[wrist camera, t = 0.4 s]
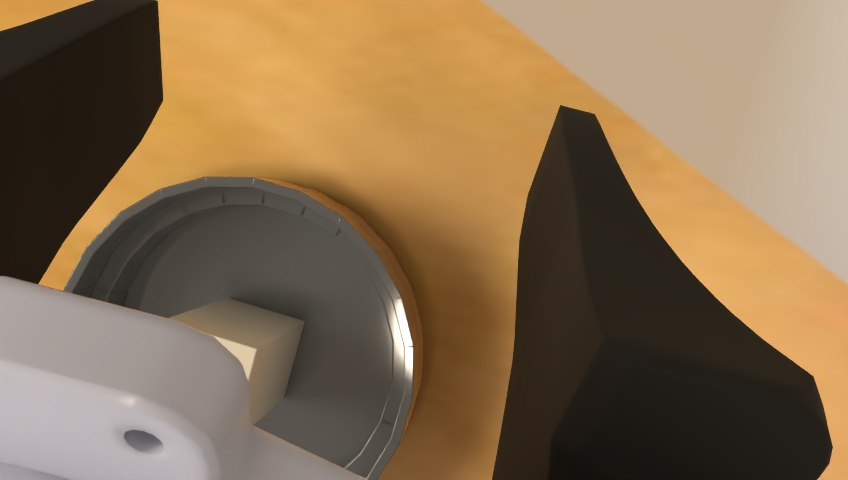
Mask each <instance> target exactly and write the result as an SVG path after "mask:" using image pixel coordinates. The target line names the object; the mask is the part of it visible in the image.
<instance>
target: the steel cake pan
mask: <svg viewBox="0 0 848 480" xmlns="http://www.w3.org/2000/svg"><path fill="white" fill-rule="evenodd" d="M63 291H65V292H69V293H73V294H77V295H80V296H84V297H88V298H92V299H96V300H100V301H103V302H107V303H111V304H115V305H119V306H123V307H126V308H130V309H134V310H138V311H142V312H146V313H149V314H153V315H157V316H161V317H165V318H170V317H173V316H176V315H179V314H182V313H185V312H188V311H191V310H194V309H197V308H199V307H202V306H205V305H208V304H211V303H214V302H217V301H220V300H223V299H226V298H230V299H234V300H237V301H240V302H244V303H247V304H250V305H253V306H257V307H260V308H263V309H267V310H270V311H273V312H276V313H280V314H283V315H286V316H290V317H293V318H296V319H299V320H303V321H304V322H305V323H304V326H303V330H302V334H301V337H300V341H299V345H298V348H297V352H296V355H295V359H294V363H293V366H292V370H291V374H290V377H289V381H288V385H287V388H286V392H285V396H284V399H283V400H282V401H280V402H279V403H278V404H277V405H276V406H275V407H274V408H273V409H271V410H270V411H269V412H268V413H267V414H266V415H265V416H263V417H262V418H261V419H260V420H259V421H258V422H257V423H255V424H254V426H256V427H258V428H260V429H262V430H264V431H266V432H268V433H270V434H273V435H275V436H277V437H279V438H281V439H283V440H285V441H287V442H289V443H292V444H294V445H296V446H298V447H300V448H302V449H304V450H306V451H308V452H310V453H313V454H315V455H317V456H319V457H321V458H323V459H325V460H327V461H329V462H332V463H334V464H336V465H338V466H340V467H342V468H344V469H346V470H348V471H351V472H353V473H355V474H357V475H359V476H361V477H363V478H365V479H367V480H378V478H379V477H380V475H381V473H382V472H383V470H384V468H385V467H386V465H387V464H388V462H389V460H390V459H391V457H392V455H393V454H394V452H395V450H396V449H397V447H398V446H399V444H400V442H401V439H402V437H403V435H404V433H405V430H406V428H407V426H408V424H409V421H410V419H411V416H412V412H413V409H414V405H415V402H416V398H417V395H418V391H419V388H420V385H421V381H422V376H423V329H422V325H421V321H420V317H419V313H418V309H417V305H416V301H415V297H414V293H413V289H412V287H411V285H410V283H409V281H408V279H407V278H406V276H405V274H404V272H403V270H402V268H401V267H400V265H399V263H398V261H397V259H396V258H395V256H394V254H393V252H392V250H391V249H390V247H389V246H388V245H387V244H386V243H385V242H384V241H383V240H382V239H381V238H380V237H379V236H378V235H377V234H376V233H375V232H374V231H373V229H372V228H371V227H370V226H369V225H368V224H367V223H366V222H365V221H364V220H363V219H362V218H361V217H360V216H358V215H357V214H356V213H354V212H353V211H351V210H349V209H348V208H346V207H344V206H343V205H341V204H339V203H338V202H336V201H334V200H333V199H331V198H329V197H328V196H326V195H324V194H323V193H320V192H319V191H315V190H312V189H308V188H305V187H301V186H298V185H295V184H291V183H288V182H284V181H281V180H274V179H265V178H255V177H202V178H199V179H195V180H191V181H187V182H183V183H180V184H176V185H172V186H168V187H165V188H161V189H159V190H157V191H155V192H153V193H152V194H150V195H148V196H147V197H145V198H143V199H142V200H140V201H138V202H137V203H135V204H133V205H131V206H130V207H128V208H126V209H125V210H123V211H121V212H120V213H119V214H118V215H117V216H116V217H115V218H114V219H113V220H112V221H111V222H110V223H109V224H108V225H107V226H106V227H105V228H104V229H103V230H102V231H101V232H100V233H99V234H98V235H97V236H96V237H95V238H94V239H93V240H92V241H91V242H90V244H89V245H88V246H87V247H86V249H85V250H84V252H83V254H82V256H81V258H80V259H79V261H78V263H77V265H76V267H75V269H74V270H73V272H72V274H71V276H70V278H69V279H68V281H67V283H66V285H65V287H64V290H63Z"/></svg>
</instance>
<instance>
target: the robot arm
mask: <svg viewBox="0 0 848 480" xmlns="http://www.w3.org/2000/svg"><path fill="white" fill-rule="evenodd" d="M162 101H163V87H162V69H161V51H160V33H159V16H158V1H156V0H94V1H91V2H88V3H85V4H82V5H79V6H76V7H73V8H70V9H67V10H64V11H61V12H58V13H55V14H53V15H50V16H47V17H44V18H41V19H38V20H35V21H32V22H29V23H26V24H23V25H20V26H17V27H13V28H10V29H7V30H3V31H0V480H367V479H365V478H363V477H361V476H359V475H357V474H355V473H353V472H351V471H348V470H346V469H344V468H342V467H340V466H338V465H336V464H334V463H332V462H329V461H327V460H325V459H323V458H321V457H319V456H317V455H315V454H313V453H310V452H308V451H306V450H304V449H302V448H300V447H298V446H296V445H294V444H292V443H289V442H287V441H285V440H283V439H281V438H279V437H277V436H275V435H273V434H270V433H268V432H266V431H264V430H262V429H260V428H258V427H256V426H254V425H252V424H251V418H250V403H251V388H250V385H249V382H248V379H247V377H246V374H245V371H244V368H243V365H242V363H241V362H240V361H239V359H238V358H237V357H236V356H234V355H233V354H232V353H231V352H230V351H229V350H228V349H227V348H226V347H225V346H223V345H222V344H221V343H220V342H219V341H218V340H217V339H216V338H215V337H213V336H211V335H209V334H207V333H205V332H202V331H200V330H198V329H195V328H193V327H191V326H188V325H186V324H184V323H182V322H179V321H176V320H172V319H169V318H165V317H161V316H157V315H153V314H149V313H146V312H142V311H138V310H134V309H130V308H126V307H123V306H119V305H115V304H111V303H107V302H103V301H100V300H96V299H92V298H88V297H84V296H80V295H77V294H73V293H69V292H65V291H61V290H57V289H54V288H50V287H46V286H42V285H38V284H39V282H40V280H41V279H42V277H43V275H44V274H45V272H46V270H47V269H48V267H49V265H50V264H51V262H52V260H53V259H54V257H55V255H56V254H57V252H58V250H59V249H60V247H61V245H62V244H63V242H64V241H65V239H66V238H67V237H68V235H69V234H70V232H71V231H72V230H73V228H74V227H75V225H76V224H77V223H78V221H79V220H80V219H81V218H82V216H83V215H84V214H85V213H86V211H87V210H88V209H89V208H90V206H91V205H92V204H93V202H94V201H95V200H96V199H97V197H98V196H99V195H100V194H101V192H102V191H103V190H104V189H105V187H106V186H107V185H108V183H109V182H110V181H111V180H112V178H113V177H114V176H115V175H116V173H117V172H118V171H119V169H120V168H121V167H122V166H123V164H124V163H125V162H126V160H127V159H128V158H129V156H130V155H131V154H132V153H133V151H134V150H135V149H136V147H137V146H138V145H139V143H140V142H141V140H142V138H143V137H144V135H145V133H146V131H147V130H148V128H149V126H150V124H151V123H152V121H153V119H154V117H155V115H156V113H157V111H158V109H159V107H160V105H161V103H162ZM832 448H833V446H832V442H831V438H830V434H829V430H828V426H827V420H826V416H825V412H824V408H823V404H822V401H821V398H820V395H819V392H818V389H817V386H816V383H815V380H814V377H813V376H812V375H811V374H809V373H808V372H807V371H805V370H804V369H802V368H801V367H800V366H798V365H797V364H796V363H794V362H793V361H792V360H790V359H789V358H787V357H786V356H785V355H783V354H782V353H781V352H779V351H778V350H776V349H775V348H774V347H772V346H771V345H770V344H768V343H767V342H766V341H764V340H763V339H762V338H761V337H759V336H758V335H757V334H756V333H755V332H753V331H752V330H751V329H750V328H749V327H748V326H746V325H745V324H744V323H743V322H742V321H741V320H739V319H738V318H737V317H736V316H735V315H734V314H732V313H731V312H730V311H729V310H728V309H727V308H726V307H725V306H724V305H723V304H722V303H721V302H720V301H719V300H718V299H716V298H715V297H714V295H713V294H712V293H711V292H710V291H709V290H708V289H707V288H706V287H705V286H704V285H703V284H702V283H701V282H700V281H699V280H698V279H697V278H696V277H695V276H694V275H693V274H692V272H691V271H690V270H689V269H688V268H687V267H686V266H685V265H684V263H683V262H682V261H681V260H680V259H679V257H678V256H677V255H676V254H675V252H674V251H673V250H672V249H671V247H670V246H669V245H668V243H667V242H666V241H665V240H664V238H663V237H662V236H661V234H660V233H659V232H658V230H657V229H656V227H655V226H654V225H653V223H652V222H651V220H650V218H649V217H648V215H647V214H646V212H645V211H644V209H643V208H642V206H641V204H640V203H639V201H638V200H637V198H636V196H635V195H634V193H633V191H632V189H631V187H630V185H629V184H628V182H627V180H626V178H625V176H624V174H623V172H622V170H621V168H620V166H619V164H618V162H617V160H616V158H615V156H614V154H613V152H612V150H611V148H610V146H609V143H608V141H607V139H606V137H605V135H604V132H603V130H602V128H601V126H600V124H599V122H598V120H597V118H596V116H595V114H592V113H588V112H584V111H581V110H577V109H573V108H569V107H565V106H561V105H560V108H559V111H558V113H557V116H556V119H555V122H554V124H553V127H552V130H551V133H550V135H549V138H548V141H547V144H546V146H545V149H544V152H543V155H542V157H541V160H540V163H539V166H538V168H537V171H536V174H535V177H534V180H533V182H532V185H531V188H530V191H529V193H528V197H527V203H526V208H525V213H524V218H523V224H522V230H521V235H520V242H519V259H518V279H517V300H516V321H515V341H514V351H513V361H512V368H511V374H510V380H509V386H508V392H507V398H506V405H505V410H504V416H503V422H502V428H501V433H500V439H499V445H498V451H497V456H496V462H495V467H494V472H493V478H492V480H817V479H818V478H819V477H820V475H821V474H822V473H823V471H824V470H825V469H826V467H827V466H828V465H829V462H830V458H831V453H832Z"/></svg>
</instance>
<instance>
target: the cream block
mask: <svg viewBox="0 0 848 480" xmlns="http://www.w3.org/2000/svg"><path fill="white" fill-rule="evenodd" d="M169 319H172V320H176V321H179V322H182V323H184V324H186V325H188V326H191V327H193V328H195V329H198V330H200V331H202V332H205V333H207V334H209V335H211V336H213V337H215V338H216V339H217V340H218V341H219V342H220V343H221V344H222V345H223V346H225V347H226V348H227V349H228V350H229V351H230V352H231V353H232V354H233V355H234V356H236V357H237V358H238V359H239V361H240V362H241V363H242V365H243V368H244V371H245V374H246V377H247V379H248V382H249V385H250V388H251V403H250V418H251V424H252V425H254V424H255V423H257V422H258V421H259V420H260V419H261V418H262V417H263V416H265V415H266V414H267V413H268V412H269V411H270V410H271V409H273V408H274V407H275V406H276V405H277V404H278V403H279V402H280V401H282V400H283V399H284V396H285V392H286V388H287V385H288V381H289V377H290V374H291V370H292V366H293V363H294V359H295V355H296V352H297V348H298V345H299V341H300V337H301V334H302V330H303V326H304V323H305V322H304V321H303V320H299V319H296V318H293V317H290V316H286V315H283V314H280V313H276V312H273V311H270V310H267V309H263V308H260V307H257V306H253V305H250V304H247V303H244V302H240V301H237V300H234V299H230V298H226V299H223V300H220V301H217V302H214V303H211V304H208V305H205V306H202V307H199V308H197V309H194V310H191V311H188V312H185V313H182V314H179V315H176V316H173V317H170V318H169Z"/></svg>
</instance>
